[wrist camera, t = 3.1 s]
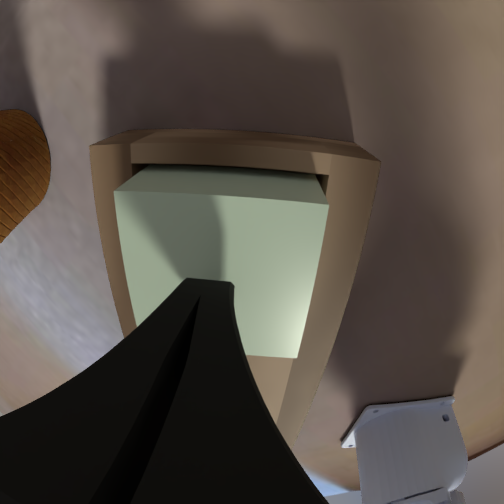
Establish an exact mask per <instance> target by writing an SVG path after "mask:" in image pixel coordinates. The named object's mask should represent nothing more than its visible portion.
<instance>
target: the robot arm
mask: <svg viewBox="0 0 504 504" xmlns="http://www.w3.org/2000/svg"><path fill="white" fill-rule="evenodd" d="M234 289H235V286H234V284H233V283H232V282H229V281H218V280H207V279H197V278H186V279H184V280H183V281H182V282H181V283H180V284H179V285H178V286H177V287H176V288H175V290H174V291H173V292H172V293H171V294H170V295H169V296H168V297H167V298H166V299H165V300H164V301H163V302H162V303H161V304H160V305H159V306H158V307H157V308H156V309H155V310H154V311H153V312H152V313H151V314H150V315H149V316H148V317H147V318H146V319H145V320H144V321H143V322H142V323H141V324H140V325H139V326H138V327H137V328H135V329H134V330H133V331H132V332H131V333H130V334H129V335H127V336H126V337H125V338H124V339H123V340H122V341H121V342H120V343H118V344H117V345H116V346H115V347H114V348H113V349H111V350H110V351H109V352H108V353H106V354H105V355H104V356H103V357H101V358H100V359H99V360H98V361H96V362H95V363H93V364H92V365H91V366H89V367H88V368H87V369H85V370H84V371H83V372H81V373H79V374H78V375H76V376H75V377H73V378H72V379H70V380H69V381H67V382H66V383H64V384H62V385H61V386H59V387H58V388H56V389H54V390H53V391H51V392H49V393H48V394H46V395H44V396H42V397H40V398H39V399H37V400H35V401H33V402H31V403H29V404H27V405H25V406H23V407H21V408H19V409H17V410H14V411H12V412H10V413H8V414H5V415H3V416H1V417H0V504H329V503H328V502H327V500H326V499H325V498H324V497H323V495H322V494H321V493H320V492H319V490H318V489H317V488H316V486H315V485H314V484H313V482H312V481H311V479H310V478H309V477H308V475H307V474H306V472H305V471H304V469H303V468H302V467H301V465H300V464H299V462H298V461H297V459H296V457H295V456H294V454H293V453H292V451H291V449H290V448H289V446H288V444H287V443H286V441H285V439H284V438H283V436H282V434H281V432H280V431H279V429H278V427H277V426H276V424H275V422H274V420H273V418H272V416H271V414H270V412H269V410H268V408H267V406H266V404H265V402H264V400H263V398H262V395H261V393H260V391H259V389H258V386H257V384H256V382H255V379H254V377H253V374H252V371H251V369H250V366H249V363H248V360H247V357H246V354H245V351H244V348H243V345H242V341H241V337H240V333H239V329H238V325H237V321H236V315H235V309H234ZM454 401H455V398H454V396H449V397H443V398H437V399H430V400H422V401H414V402H405V403H394V404H382V405H370V406H367V407H366V408H365V409H364V410H363V412H362V413H361V415H360V417H359V418H358V420H357V421H356V423H355V424H354V425H353V427H352V428H351V430H350V431H349V433H348V434H347V436H346V437H345V438H344V440H343V441H342V443H341V447H342V448H350V447H356V453H357V461H358V469H359V477H360V486H361V496H362V504H465V499H464V495H463V493H462V492H458V491H457V490H454V491H452V492H450V496H451V500H450V496H449V491H451V490H453V489H455V488H456V487H457V486H459V485H460V483H461V482H462V480H463V479H464V477H465V475H466V471H467V465H468V457H467V451H466V447H465V444H464V441H463V438H462V435H461V432H460V429H459V426H458V423H457V420H456V417H455V414H454V411H453V409H452V406H451V405H452V403H453V402H454Z"/></svg>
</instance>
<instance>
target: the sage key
mask: <svg viewBox="0 0 504 504" xmlns="http://www.w3.org/2000/svg"><path fill="white" fill-rule="evenodd" d="M114 199H115V208H116V216H117V224H118V231H119V238H120V244H121V250H122V256H123V262H124V268H125V273H126V279H127V284H128V289H129V294H130V299H131V303H132V308H133V312H134V317H135V321H136V325H137V327H138V326H139V325H140V324H141V323H142V322H143V321H144V320H145V319H146V318H147V317H148V316H149V315H150V314H151V313H152V312H153V311H154V310H155V309H156V308H157V307H158V306H159V305H160V304H161V303H162V302H163V301H164V300H165V299H166V298H167V297H168V296H169V295H170V294H171V293H172V292H173V291H174V290H175V288H176V287H177V286H178V285H179V284H180V283H181V282H182V281H183V280H184V279H186V278H197V279H207V280H218V281H229V282H232V283H233V284H234V286H235V289H234V309H235V315H236V321H237V325H238V329H239V333H240V337H241V341H242V345H243V348H244V351H245V354H246V355H254V356H267V357H282V358H297V356H298V352H299V348H300V344H301V340H302V336H303V331H304V327H305V323H306V319H307V314H308V310H309V306H310V301H311V296H312V292H313V287H314V283H315V278H316V273H317V268H318V263H319V258H320V253H321V248H322V242H323V237H324V232H325V226H326V221H327V215H328V209H329V203H328V201H327V199H326V197H325V195H324V193H323V191H322V188H321V186H320V184H319V182H318V180H317V178H316V176H315V174H306V173H297V172H287V171H276V170H264V169H251V168H236V167H219V166H196V165H154V164H150V165H148V166H147V167H146V168H144V169H143V170H141V171H140V172H139V173H137V174H136V175H134V176H133V177H132V178H130V179H129V180H128V181H126V182H125V183H124V184H122V185H121V186H120V187H118V188H117V189H116V190H114Z"/></svg>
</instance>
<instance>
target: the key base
mask: <svg viewBox="0 0 504 504" xmlns="http://www.w3.org/2000/svg"><path fill="white" fill-rule="evenodd" d="M89 149H90V161H91V172H92V181H93V190H94V198H95V205H96V212H97V219H98V225H99V231H100V237H101V242H102V248H103V253H104V258H105V263H106V268H107V272H108V277H109V281H110V286H111V290H112V294H113V298H114V302H115V306H116V310H117V314H118V317H119V321H120V325H121V328H122V332H123V335H124V338H125V337H126V336H127V335H129V334H130V333H131V332H132V331H133V330H134V329H135V328H137V325H136V321H135V317H134V312H133V308H132V303H131V299H130V294H129V289H128V284H127V279H126V273H125V268H124V262H123V256H122V250H121V244H120V238H119V231H118V224H117V216H116V208H115V199H114V190H116V189H117V188H118V187H120V186H121V185H122V184H124V183H125V182H126V181H128V180H129V179H130V178H132V177H133V176H134V175H136V174H137V173H139V172H140V171H141V170H143V169H144V168H146V167H147V166H148V165H150V164H154V165H196V166H219V167H236V168H251V169H264V170H276V171H287V172H297V173H306V174H315V176H316V178H317V180H318V182H319V184H320V186H321V188H322V191H323V193H324V195H325V197H326V199H327V201H328V203H329V209H328V215H327V221H326V226H325V232H324V237H323V242H322V248H321V253H320V258H319V263H318V268H317V273H316V278H315V283H314V287H313V292H312V296H311V301H310V306H309V310H308V314H307V319H306V323H305V327H304V331H303V336H302V340H301V344H300V348H299V352H298V356H297V358H282V357H267V356H254V355H246V357H247V360H248V363H249V366H250V369H251V371H252V374H253V377H254V379H255V382H256V384H257V386H258V389H259V391H260V393H261V395H262V398H263V400H264V402H265V404H266V406H267V408H268V410H269V412H270V414H271V416H272V418H273V420H274V422H275V424H276V426H277V427H278V429H279V431H280V432H281V434H282V436H283V438H284V439H285V441H286V443H287V444H288V446H289V448H290V449H291V450H292V448H293V446H294V443H295V441H296V439H297V437H298V434H299V432H300V430H301V428H302V425H303V423H304V421H305V418H306V416H307V413H308V411H309V409H310V406H311V404H312V401H313V399H314V396H315V394H316V391H317V389H318V386H319V383H320V381H321V378H322V376H323V373H324V370H325V367H326V365H327V362H328V359H329V356H330V354H331V351H332V348H333V345H334V342H335V339H336V336H337V333H338V330H339V327H340V324H341V321H342V318H343V315H344V311H345V308H346V305H347V302H348V298H349V295H350V292H351V288H352V285H353V281H354V278H355V274H356V271H357V267H358V263H359V260H360V256H361V252H362V248H363V244H364V240H365V236H366V232H367V228H368V224H369V219H370V215H371V210H372V206H373V201H374V196H375V192H376V187H377V182H378V177H379V171H380V166H381V161H379V160H378V159H377V158H375V157H374V156H372V155H371V154H370V153H368V152H367V151H366V150H364V149H363V148H361V147H360V146H358V145H357V144H356V143H351V142H345V141H338V140H331V139H324V138H316V137H308V136H300V135H290V134H280V133H268V132H255V131H239V130H216V129H144V130H128V131H125V132H123V133H120V134H117V135H115V136H112V137H109V138H107V139H104V140H102V141H99V142H97V143H95V144H92V145H90V146H89Z"/></svg>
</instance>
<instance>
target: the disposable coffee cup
mask: <svg viewBox="0 0 504 504" xmlns="http://www.w3.org/2000/svg"><path fill="white" fill-rule="evenodd" d="M50 171H51V168H50V154H49V149H48V145H47V141H46V138H45V136H44V133H43V131H42V130H41V128H40V126H39V125H38V123H37V122H36V120H35V119H34V118H33V117H32V116H31V115H29V114H28V113H26V112H24V111H21V110H17V109H11V110H2V111H0V243H2V241H3V240H4V239H5V238H6V237H7V236H8V235H9V234H10V232H11V231H12V230H13V229H14V228H15V227H16V226H17V225H18V224H19V223H20V222H21V221H22V220H23V219H24V217H26V216H27V215H28V214H29V213H30V211H32V210H33V209H34V208H35V207H36V206H38V205H39V203H40V202H41V201H42V200H43V198H44V196H45V194H46V192H47V189H48V185H49V180H50Z"/></svg>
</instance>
